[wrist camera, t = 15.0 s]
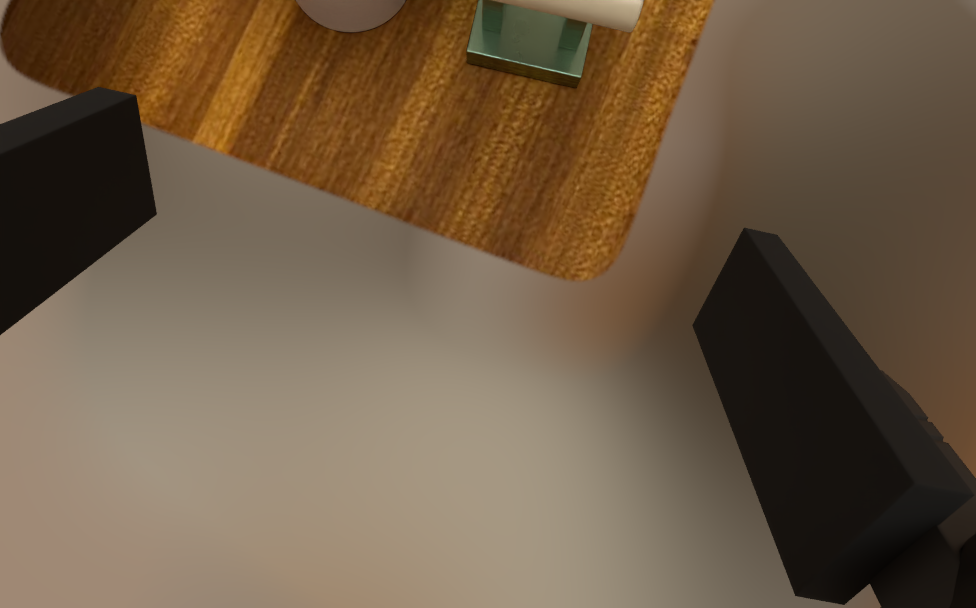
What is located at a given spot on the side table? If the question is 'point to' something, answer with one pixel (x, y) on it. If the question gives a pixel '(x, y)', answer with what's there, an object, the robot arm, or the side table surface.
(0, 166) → the robot arm
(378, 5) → the coffee cup
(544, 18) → the bracket
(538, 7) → the lever
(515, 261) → the side table surface
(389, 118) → the side table surface
